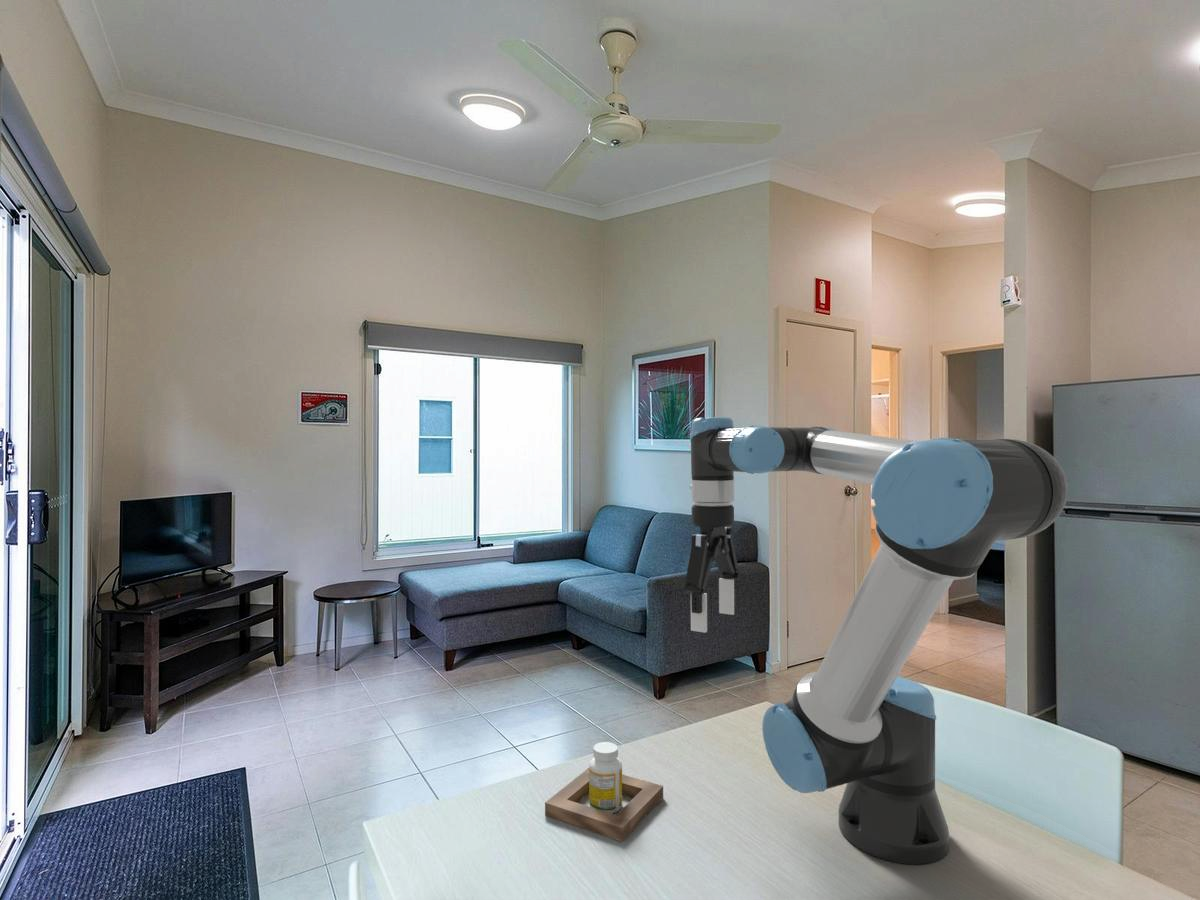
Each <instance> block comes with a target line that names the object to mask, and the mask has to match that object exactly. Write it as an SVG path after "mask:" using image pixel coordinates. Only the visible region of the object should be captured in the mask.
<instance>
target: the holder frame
mask: <svg viewBox="0 0 1200 900" xmlns="http://www.w3.org/2000/svg"><path fill="white" fill-rule="evenodd" d="M588 793H589V767H587V768H586V769H585V770H584V771H583V772H581V773H580V774H579V775H578V776H575V778H574V779H573V780H571V781H570V782H569V783H567V784H566V785H565V786H564V787H563V788H561V789H560V790H559V791H558V792H557V793H555V794H553V796H551V797H550V798H549V799H548V800H547V801H545V802H544V816H547V817H549V818H552V819H555V820H557V821H561V822H564V823H567V824H569V825H573V826H576V827H579V828H582V829H584V830H587V831H590V832H593V833H596V834H600V835H602V836H605V837H608V838H610V839H614V840H616V841H620V842H624V841H625V840H626V839H627V838H628V837H629V835H630V834H631V833H632V832H633V831H634V830H635V829H636V828H637V827H638V826H639V825H640V823H642V821H643V820H645V818H647V816H648V815H650V813H651V812H652V811H653V810H654V808H656V807H657V806H658V804H659V803H660V802H661V801H662V800H663V799H664V785H661V784H658V783H654V782H651V781H648V780H647V781H646V780H644V779H639V778H637V777H633V776H629V775H625V774H623V773H622V794H623V795H622V796H625V797H628V796H629V798H631V797H632V799H631V800H629V801H628V803H627V804H625V806H624V807H622V809H620V810H619V811H618V813H617V814H615V813H613V814H611V813H607V812H604V811H601V810H598V809H595V808H592V807H590V805H589V806H588V805H585V804H582V803H579V802H581V799H582V798H583V797H584V798H585V797H586V796H587V795H588ZM584 798H583V799H584ZM583 799H582V800H583Z"/></svg>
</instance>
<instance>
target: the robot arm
mask: <svg viewBox="0 0 1200 900" xmlns="http://www.w3.org/2000/svg"><path fill="white" fill-rule="evenodd" d="M690 432H691V435H690V438H689V439H690V440H689V441H690V463H691V464H690V469H691V470H690V471H691V473H690V474H691V484H690V485H689V489H690V490H691V501H692V502H693V503H694V504H693V505H692V506H691V524H692V525H693V526H695V527H698V528H700V529H699V534H698V533H693V534H692V535H691V548H690V555H689V558H688V559H689V560H688V565H687V570H686V575H685V576H686V577H685V581H684V582H685V583H684V593H686V594H690V631H692V632H699V633H704V634H705V633H707V632H708V593H706V592H705V591H706V587H707V584H708V580H709V576H710V572H711V568H712V565H713V562H714V561H715V563H716V565H717V568H718V570H719V571H718V572H719V574H720V576H721V577H720V578H718V614H723V615H732V616H734V615H735V579H738V580H739V578H740V573H739V565H738V559H737V555H736V550H735V549H736V548H735V545H734V540H733V539H734V538H733V528H732V526H733V525H734V524H735V506H734V505H733V504H732V503H733V502H734V501H735V479H734V477H735V475H734V474H735V473H734V472H739V473H747V474H751V475H753V474H764V473H770V472H771V473H772V472H775V473H777V472H792V471H793V472H809V473H814V474H817V475H818V474H819V475H824V476H829V477H833V478H837V479H842V480H847V481H851V482H856V483H861V484H864V485H865V484H866V485H871V486H872V487H871V492H870V493H871V494H870V499H871V500H873V501H874V505H872V506H871V509H872V515H873V518H874V520H875V522H876V523H875V525H874V531H875V534H876V537H877V538H878V540H879V542H880V545H879V548H878V549H877V551H876V554H875V556H874V557H873V559H872V561H871V563H870V565H869V567H868V570H867V572H866V574H865V575H864V577H863V579H862V581H861V584H860V586H859V587H858V589H857V591H856V594H855V595H854V597H853V599H852V602H851V604H850V606H849V607H848V610H847V612H846V614H845V615H844V618H843V620H842V621H841V624H840V625H839V628H838V630H837V631H836V634H835V635H834V638H833V640H832V641H831V644H830V645H829V648H828V650H827V652H826V654H825V656H824V658H823V660H822V662H821V664H820V665H819V668H818V670H817V671H811V672H808V673H807V674H805V675H804V676H802V677H801V679H800V680H799V681H798V683H797V685H796V687H795V689H794V691H793V694H792V695H791V697H790V699H789V700H788V701H786V702H776V703H775V704H774V705H771V706H770V707H768V708H767V709H766V710H765V712H764V715H763V717H762V718H763V719H762V725H761V727H762V731H761V732H762V738H763V742H764V746H765V750H766V753H767V756H768V758H769V760H770V763H771V765H772V766H773V768H774V770H775V772H776V773H777V775H778V776H779V777H780V779H781V780H782V781H783V782H784V784H786V786H787V787H789V788H790V789H792V790H794V791H797V792H798V793H801V794H811V793H816V792H819V793H820V792H821V793H822V792H824V791H826V790H829V789H832V788H836V787H839V786H842V785H845V784H846V786H845V788H844V792H843V794H842V797H841V801H840V803H839V805H838V806H839V807H838V828H839V831H840V832H841V834H842V836H843V837H845V839H847V840H848V842H850V843H851V844H852V845H853V846H855V847H856V848H858V849H860V850H861V851H863V852H865V853H867V854H870V855H871V856H874V857H876V858H879V859H882V860H885V861H889V862H893V863H894V862H895V863H898V864H899V863H900V864H905V865H906V864H908V865H922V864H923V865H925V864H930V863H934V862H937V861H939V860H940V859H943V858H944V857H945V856H946V855H947V854H948V852H949V848H950V832H949V830H950V829H949V826H948V823H947V820H946V817H945V814H944V811H943V808H942V806H941V802H940V799H939V796H938V794H937V790H936V720H937V715H936V713H935V699H934V696H933V694H932V692H931V691H930V689H928V687H926V686H924V685H922V684H921V683H918V682H917V681H914V680H912V679H909V678H905V677H903V676H899V675H900V672H901V670H902V669H903V667H904V666H905V664H906V662H907V661H908V659H909V657H910V656H911V654H912V652H913V651H914V648H915V646H916V645H917V643H918V641H919V640H920V638H921V637H922V635H923V633H924V631H925V630H926V628H927V626H928V625H929V623H930V621H931V619H932V618H933V617H934V614H935V613H936V611H937V609H938V608H939V606H940V604H941V602H942V600H943V599H944V597H945V596H946V594H947V592H948V591H949V589H950V587H951V586H952V583H953V582H954V581H956V580H965V579H969V578H971V577H973V576H974V575H975V574H976V573H977V572H978V569H979V568H980V566H981V565H982V564H983V562H984V560H985V558H986V557H987V555H988V553H989V552H990V550H991V548H992V546H993V545H994V544H995V543H996V542H997V541H998V542H999V541H1008V540H1009V541H1010V540H1014V539H1015V540H1016V539H1022V538H1027V537H1030V536H1033V535H1036V534H1038V533H1041V532H1042V531H1044V530H1046V529H1047V528H1048V527H1050V526H1051V525H1052V524H1054V523H1055V522H1056V521H1057V519H1058V518H1059V517H1060V515H1061V514H1062V512H1063V510H1064V508H1065V506H1066V504H1067V499H1068V495H1069V490H1068V489H1069V487H1068V481H1067V478H1066V473H1065V471H1064V469H1063V467H1062V466H1061V465H1060V463H1059V462H1058V461H1057V460H1056V458H1055V457H1054V456H1053V455H1052V454H1051V453H1050V452H1048V451H1047V450H1046V449H1044V448H1042V447H1041V446H1039V445H1037V444H1034V443H1031V442H1030V441H1026V440H1025V441H1024V440H1020V439H1012V438H1004V439H1003V438H999V439H998V438H996V439H995V438H993V439H991V438H989V439H983V438H982V439H960V438H955V437H954V438H953V437H936V438H931V439H928V440H919V441H917V440H910V439H905V438H904V439H903V438H896V437H888V436H881V435H880V436H879V435H872V434H871V435H870V434H863V433H857V432H855V433H854V432H849V431H839V430H836V429H834V428H831V427H824V426H811V427H783V426H782V427H781V426H763V425H748V426H742V427H734V420H733V419H732V418H730V417H726V416H725V417H723V416H722V417H720V416H718V417H717V416H716V417H715V416H713V417H696V418H695V419H694V420H692V422H691V431H690Z"/></svg>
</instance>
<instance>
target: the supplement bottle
mask: <svg viewBox="0 0 1200 900" xmlns="http://www.w3.org/2000/svg"><path fill="white" fill-rule="evenodd" d="M592 750H593V752H592V753H593V758H592V759H590V762H589V764H588V765H589V767H588V768H589V795H588V796H589V807H592V808H595V809H598V810H601V811H604V812H607V813H611V814H615V813H617V812H620V811H621V810H622V809H621V808H622V805H623V795H622V774H623V762H622V761H621V759H620V758H619V747H618V745H617V744H616V743H613V742H609V741H603V742H598V743H595V744H594V746H593V749H592Z"/></svg>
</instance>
